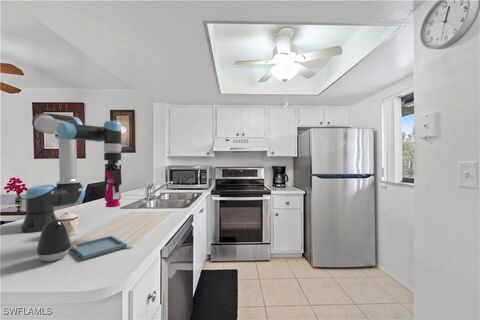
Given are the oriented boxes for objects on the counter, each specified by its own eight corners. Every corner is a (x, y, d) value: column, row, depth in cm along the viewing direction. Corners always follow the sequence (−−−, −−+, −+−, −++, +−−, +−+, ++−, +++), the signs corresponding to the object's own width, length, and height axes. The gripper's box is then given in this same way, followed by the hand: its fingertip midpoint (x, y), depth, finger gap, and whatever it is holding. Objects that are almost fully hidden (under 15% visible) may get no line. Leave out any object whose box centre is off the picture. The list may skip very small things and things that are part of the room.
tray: (71, 249, 96) (71, 245, 96) (111, 239, 109) (111, 235, 109) (83, 260, 86) (83, 255, 86) (126, 248, 98) (126, 243, 98)
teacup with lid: (53, 234, 114) (53, 212, 114) (74, 230, 121) (74, 208, 121) (60, 240, 107) (60, 216, 107) (83, 235, 114) (83, 212, 114)
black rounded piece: (43, 267, 81) (42, 225, 80) (32, 260, 86) (32, 220, 86) (75, 257, 89) (75, 218, 89) (64, 251, 95) (64, 215, 95)
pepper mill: (113, 208, 109) (113, 166, 109) (100, 207, 110) (100, 166, 110) (124, 204, 116) (124, 166, 116) (111, 204, 117) (111, 166, 117)
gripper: (129, 152, 109) (129, 199, 110) (112, 152, 122) (112, 194, 122) (113, 152, 104) (113, 201, 104) (97, 152, 116) (97, 196, 117)
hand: (112, 198), depth 113 cm, fingers closed on pepper mill, 7 cm apart
